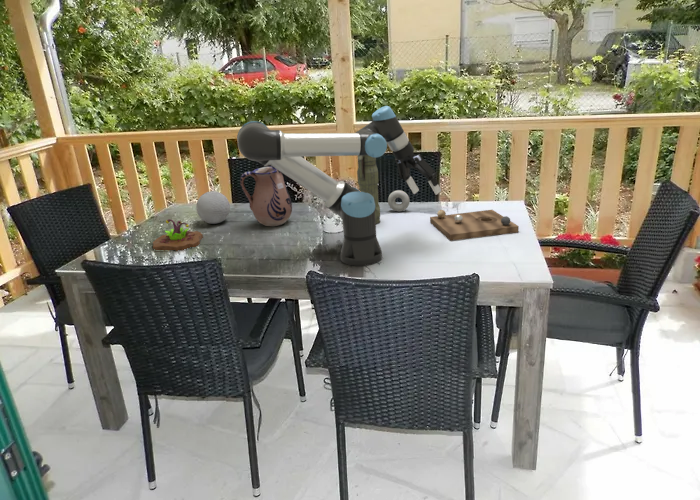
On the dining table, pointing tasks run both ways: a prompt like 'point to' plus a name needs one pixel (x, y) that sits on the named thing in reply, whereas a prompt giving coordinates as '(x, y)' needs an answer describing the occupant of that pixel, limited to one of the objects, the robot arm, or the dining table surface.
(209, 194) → the decorative ball
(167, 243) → the plant
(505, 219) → the black rubber ball
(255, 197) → the ceramic pitcher
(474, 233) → the walnut plate
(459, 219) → the steel ball
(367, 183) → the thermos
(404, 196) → the donut
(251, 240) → the dining table surface
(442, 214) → the beech ball
